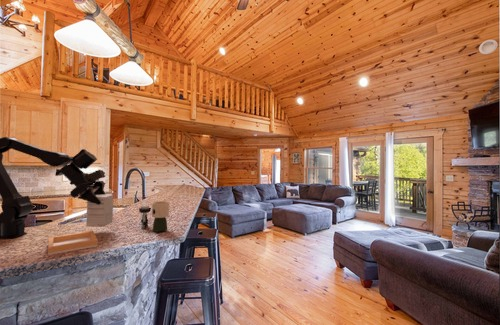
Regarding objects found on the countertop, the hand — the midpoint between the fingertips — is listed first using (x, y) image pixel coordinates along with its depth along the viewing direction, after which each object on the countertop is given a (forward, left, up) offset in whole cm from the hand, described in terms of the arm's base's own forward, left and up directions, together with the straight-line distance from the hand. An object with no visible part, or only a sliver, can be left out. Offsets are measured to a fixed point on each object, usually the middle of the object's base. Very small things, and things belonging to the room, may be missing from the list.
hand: (104, 202), depth 97 cm
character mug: (+23, +2, -13) cm, 27 cm away
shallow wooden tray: (-3, -15, -13) cm, 20 cm away
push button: (+14, +8, -13) cm, 21 cm away
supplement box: (-1, 0, -10) cm, 10 cm away
